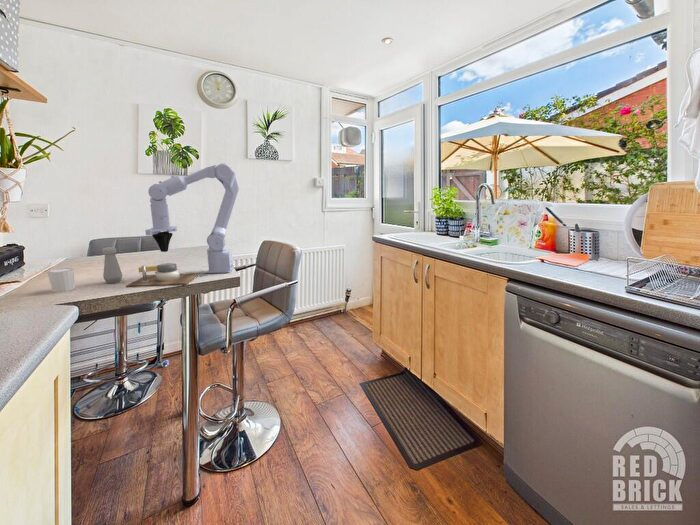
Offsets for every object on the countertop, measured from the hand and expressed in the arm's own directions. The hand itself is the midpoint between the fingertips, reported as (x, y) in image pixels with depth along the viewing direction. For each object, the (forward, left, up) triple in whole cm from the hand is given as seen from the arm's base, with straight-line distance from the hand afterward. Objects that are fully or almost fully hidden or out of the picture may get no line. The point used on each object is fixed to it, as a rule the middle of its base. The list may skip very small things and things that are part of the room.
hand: (164, 251), depth 131 cm
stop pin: (+4, +11, -10) cm, 15 cm away
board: (-2, +7, -10) cm, 12 cm away
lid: (0, +8, -6) cm, 10 cm away
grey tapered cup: (+27, +16, -10) cm, 33 cm away
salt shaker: (+16, +7, -10) cm, 20 cm away
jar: (-3, +7, -10) cm, 12 cm away
